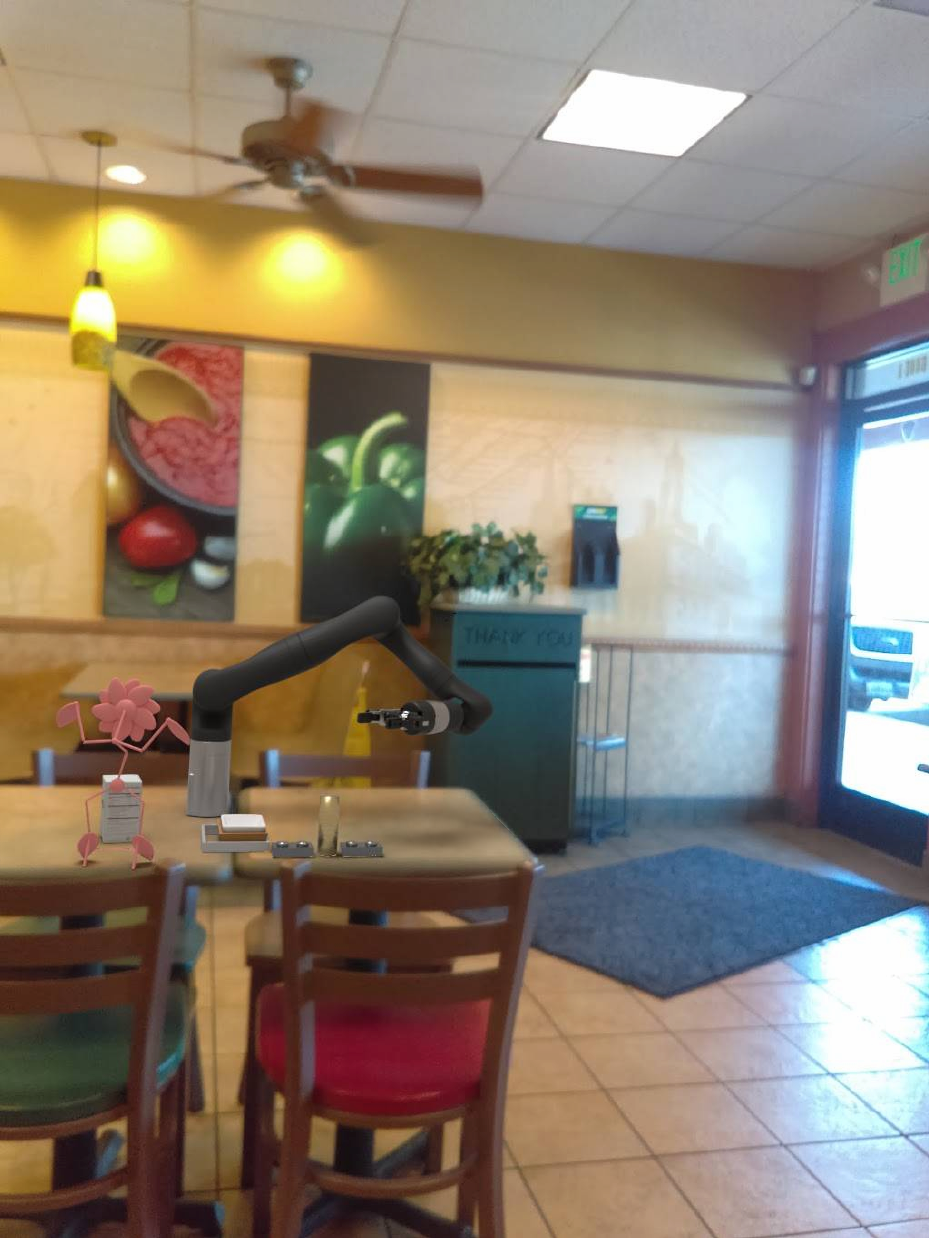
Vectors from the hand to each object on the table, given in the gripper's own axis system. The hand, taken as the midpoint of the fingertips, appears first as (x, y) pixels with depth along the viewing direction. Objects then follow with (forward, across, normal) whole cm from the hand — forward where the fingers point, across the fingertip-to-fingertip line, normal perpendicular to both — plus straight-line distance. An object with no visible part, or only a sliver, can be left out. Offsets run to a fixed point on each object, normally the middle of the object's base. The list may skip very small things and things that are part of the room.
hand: (372, 720), depth 223 cm
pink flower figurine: (+45, -21, +28) cm, 57 cm away
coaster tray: (+20, -18, +27) cm, 38 cm away
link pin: (+11, 0, +27) cm, 29 cm away
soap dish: (+18, -17, +28) cm, 37 cm away
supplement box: (+36, -35, +28) cm, 57 cm away
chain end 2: (+5, +4, +27) cm, 27 cm away
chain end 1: (+16, -4, +27) cm, 32 cm away
